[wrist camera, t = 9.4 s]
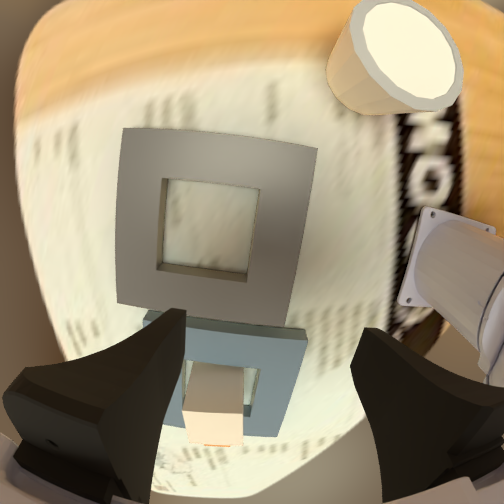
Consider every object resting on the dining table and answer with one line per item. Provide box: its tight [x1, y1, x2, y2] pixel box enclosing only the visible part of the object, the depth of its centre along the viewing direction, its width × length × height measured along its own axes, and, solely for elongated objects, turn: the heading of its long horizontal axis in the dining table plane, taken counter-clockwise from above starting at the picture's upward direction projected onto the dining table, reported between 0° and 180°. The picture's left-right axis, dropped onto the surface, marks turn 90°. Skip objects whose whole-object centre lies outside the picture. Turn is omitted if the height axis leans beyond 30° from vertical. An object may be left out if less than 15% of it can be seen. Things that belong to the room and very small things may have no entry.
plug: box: [182, 361, 244, 447], centre depth 20 cm, size 4×5×6 cm
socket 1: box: [115, 128, 318, 327], centre depth 18 cm, size 12×12×2 cm
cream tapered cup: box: [326, 0, 464, 115], centre depth 13 cm, size 7×7×7 cm
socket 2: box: [143, 310, 308, 437], centre depth 22 cm, size 12×12×2 cm
